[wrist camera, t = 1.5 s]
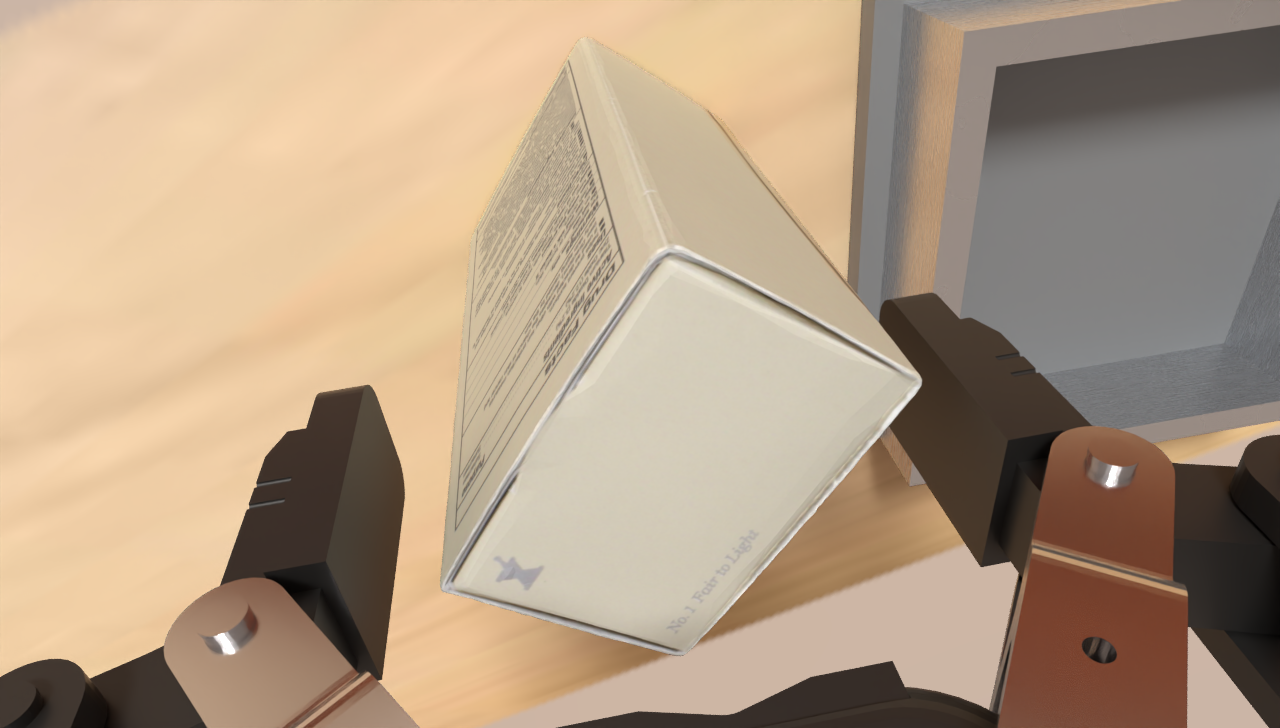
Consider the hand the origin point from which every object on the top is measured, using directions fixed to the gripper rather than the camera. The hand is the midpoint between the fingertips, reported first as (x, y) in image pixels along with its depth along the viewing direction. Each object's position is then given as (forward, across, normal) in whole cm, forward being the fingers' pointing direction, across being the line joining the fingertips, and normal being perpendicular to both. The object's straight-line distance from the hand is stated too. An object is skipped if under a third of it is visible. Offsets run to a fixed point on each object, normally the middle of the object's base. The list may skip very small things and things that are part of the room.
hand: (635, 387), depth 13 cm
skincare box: (+10, 0, 0) cm, 10 cm away
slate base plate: (+10, -14, +3) cm, 18 cm away
